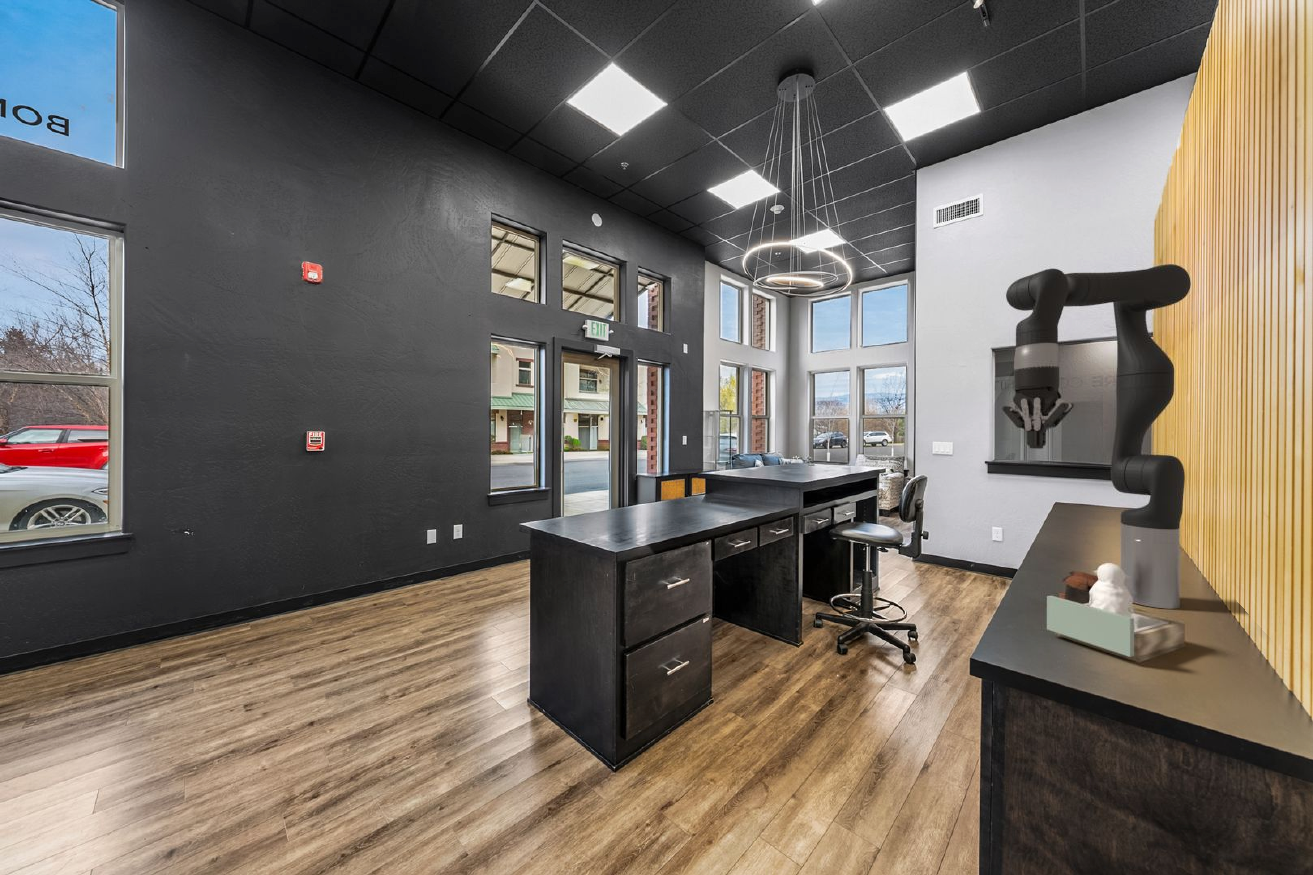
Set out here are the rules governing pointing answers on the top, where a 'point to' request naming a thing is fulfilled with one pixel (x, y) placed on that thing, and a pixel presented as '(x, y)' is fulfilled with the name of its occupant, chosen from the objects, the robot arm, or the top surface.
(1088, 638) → the drawer
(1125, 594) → the white rounded figure
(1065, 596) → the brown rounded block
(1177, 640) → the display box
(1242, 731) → the top surface
